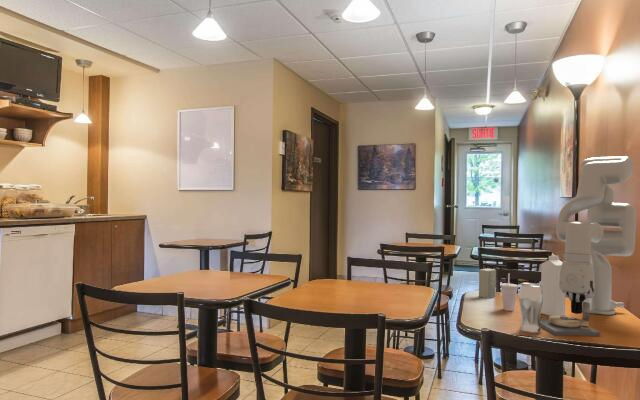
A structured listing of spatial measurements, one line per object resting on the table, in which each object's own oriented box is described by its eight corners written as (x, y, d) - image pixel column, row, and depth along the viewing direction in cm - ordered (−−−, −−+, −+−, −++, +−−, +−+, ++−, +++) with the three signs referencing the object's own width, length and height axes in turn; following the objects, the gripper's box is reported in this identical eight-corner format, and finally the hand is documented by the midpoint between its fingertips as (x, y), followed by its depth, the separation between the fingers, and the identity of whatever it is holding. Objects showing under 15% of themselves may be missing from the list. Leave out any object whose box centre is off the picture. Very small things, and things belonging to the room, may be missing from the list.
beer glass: (514, 327, 150) (515, 282, 150) (534, 327, 150) (535, 282, 150) (526, 333, 143) (526, 286, 143) (546, 333, 143) (547, 286, 143)
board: (571, 322, 157) (571, 317, 157) (600, 336, 141) (600, 330, 141) (531, 321, 157) (531, 316, 157) (555, 335, 141) (555, 330, 141)
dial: (590, 325, 147) (591, 303, 147) (566, 328, 143) (566, 305, 143) (566, 318, 156) (566, 297, 156) (542, 321, 152) (543, 299, 152)
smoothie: (514, 308, 177) (515, 272, 177) (520, 312, 171) (520, 275, 171) (497, 307, 178) (498, 272, 178) (502, 311, 172) (503, 274, 172)
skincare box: (487, 295, 201) (487, 268, 201) (496, 297, 197) (496, 269, 197) (478, 296, 198) (478, 269, 198) (486, 298, 194) (487, 270, 194)
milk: (565, 315, 167) (566, 256, 167) (555, 317, 164) (556, 257, 164) (549, 311, 173) (551, 254, 172) (540, 313, 170) (541, 255, 170)
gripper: (550, 256, 157) (549, 308, 157) (591, 261, 143) (589, 319, 143) (565, 256, 160) (564, 307, 160) (606, 261, 146) (605, 317, 146)
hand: (576, 312), depth 151 cm, fingers closed
